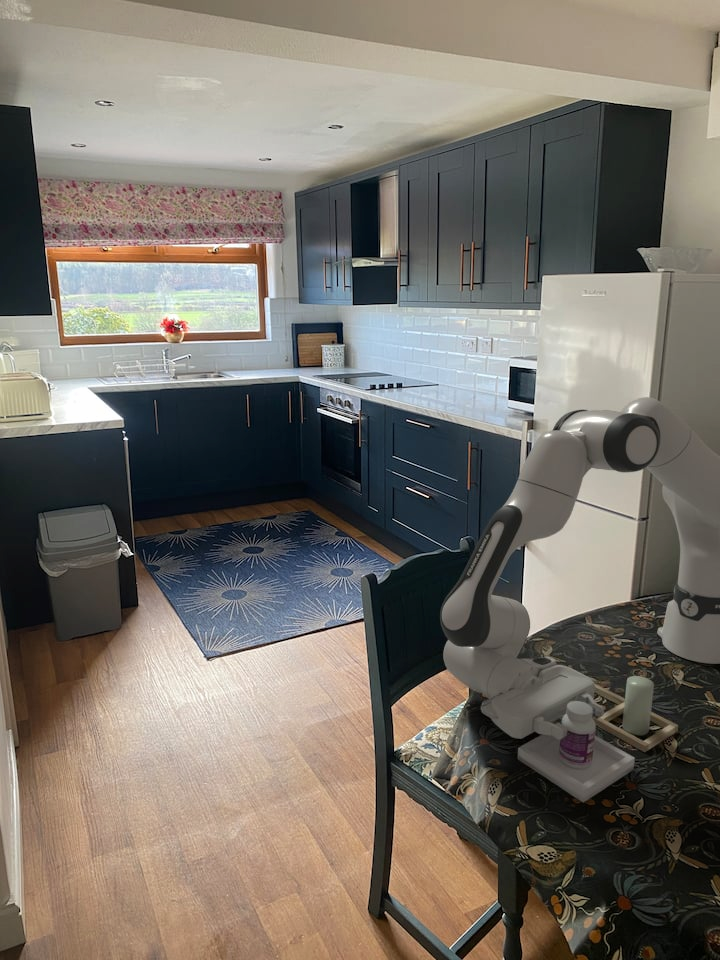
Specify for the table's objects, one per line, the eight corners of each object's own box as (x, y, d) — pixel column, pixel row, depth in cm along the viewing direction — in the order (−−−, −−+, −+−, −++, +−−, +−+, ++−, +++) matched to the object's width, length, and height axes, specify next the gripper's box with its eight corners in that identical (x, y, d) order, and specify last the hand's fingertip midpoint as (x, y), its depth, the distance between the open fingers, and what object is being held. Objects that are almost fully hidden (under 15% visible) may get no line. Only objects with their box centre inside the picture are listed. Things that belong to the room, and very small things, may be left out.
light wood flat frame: (586, 685, 140) (587, 679, 140) (677, 731, 125) (678, 725, 125) (553, 702, 134) (554, 696, 134) (644, 752, 120) (645, 746, 119)
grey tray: (567, 731, 125) (568, 720, 125) (633, 769, 115) (634, 757, 115) (517, 759, 118) (518, 747, 117) (583, 802, 108) (584, 790, 107)
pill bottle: (594, 772, 113) (599, 718, 111) (559, 768, 114) (564, 715, 112) (590, 751, 119) (595, 700, 116) (557, 747, 120) (561, 696, 117)
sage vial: (631, 717, 129) (636, 673, 127) (653, 729, 126) (659, 683, 124) (617, 726, 127) (621, 681, 125) (639, 738, 123) (644, 692, 121)
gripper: (475, 689, 118) (541, 729, 107) (555, 653, 130) (622, 686, 119) (474, 723, 120) (539, 765, 109) (553, 684, 131) (619, 719, 120)
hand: (583, 723), depth 114 cm, fingers open, 8 cm apart
